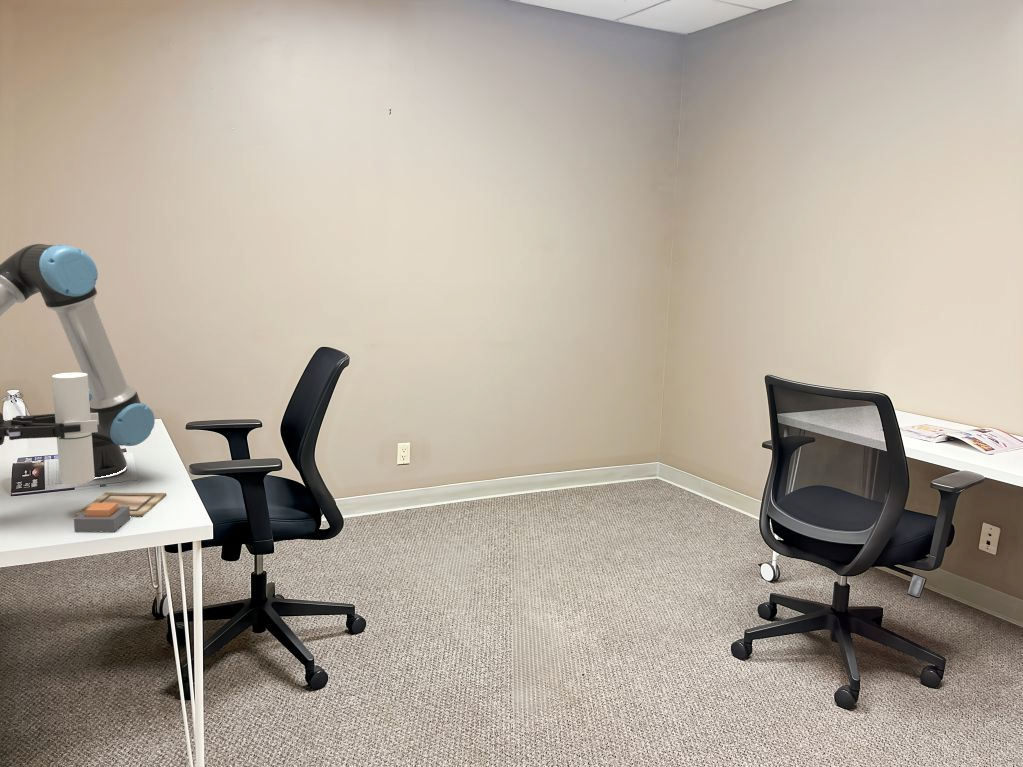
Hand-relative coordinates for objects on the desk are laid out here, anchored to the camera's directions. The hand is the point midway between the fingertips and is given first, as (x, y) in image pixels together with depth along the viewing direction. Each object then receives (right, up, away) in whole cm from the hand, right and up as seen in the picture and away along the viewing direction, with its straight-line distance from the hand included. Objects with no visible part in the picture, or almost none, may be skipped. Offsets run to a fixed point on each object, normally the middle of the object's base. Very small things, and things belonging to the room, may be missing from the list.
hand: (97, 422), depth 184 cm
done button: (+4, -22, -5) cm, 23 cm away
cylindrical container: (-5, -14, 0) cm, 15 cm away
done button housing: (+4, -23, -5) cm, 24 cm away
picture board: (+2, -21, +8) cm, 23 cm away
